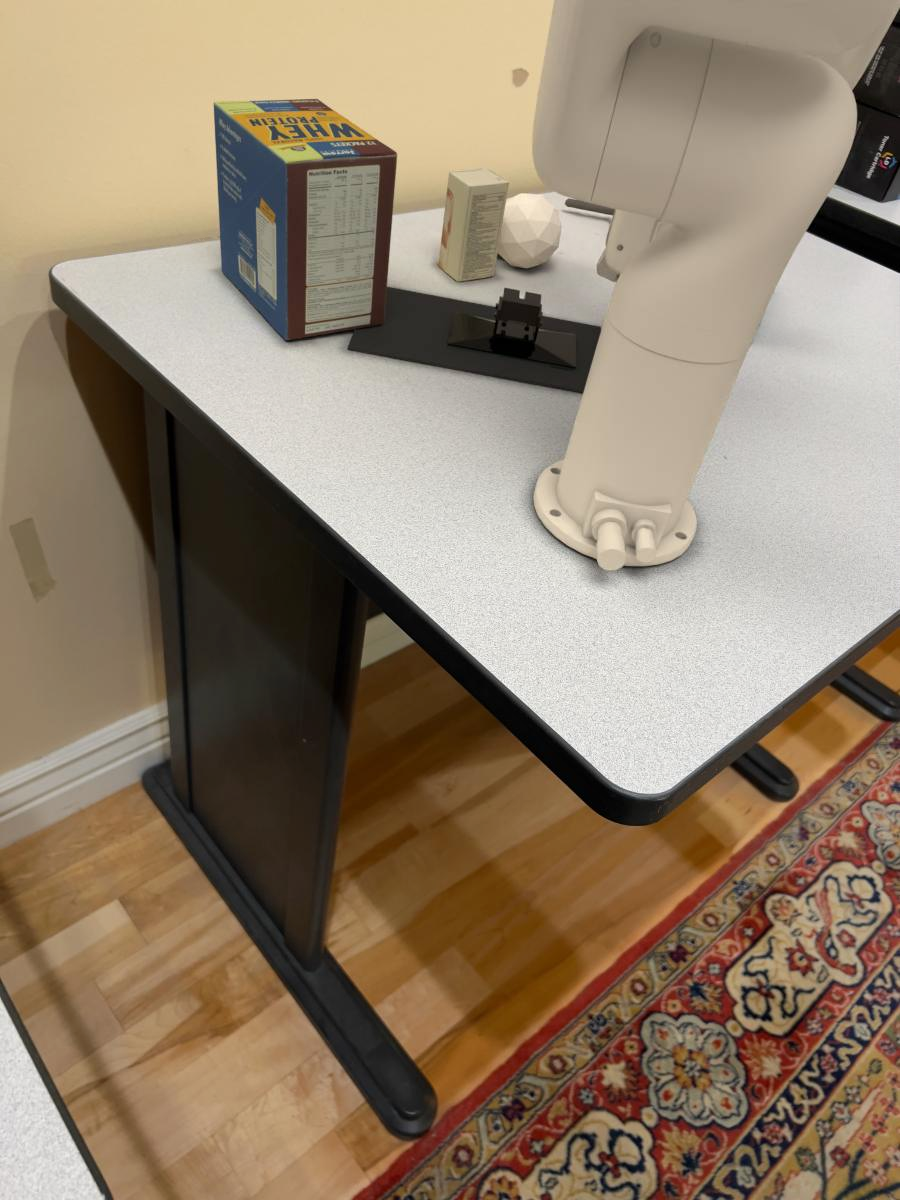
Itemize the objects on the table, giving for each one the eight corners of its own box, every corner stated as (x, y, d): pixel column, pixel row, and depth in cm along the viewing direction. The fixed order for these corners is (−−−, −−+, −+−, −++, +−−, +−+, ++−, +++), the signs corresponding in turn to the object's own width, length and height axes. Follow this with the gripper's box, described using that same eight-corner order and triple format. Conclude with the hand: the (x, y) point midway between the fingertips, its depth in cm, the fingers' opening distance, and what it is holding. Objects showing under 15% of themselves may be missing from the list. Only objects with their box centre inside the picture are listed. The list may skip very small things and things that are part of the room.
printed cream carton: (473, 260, 100) (489, 166, 93) (494, 277, 97) (512, 182, 91) (434, 265, 97) (447, 169, 91) (455, 282, 95) (470, 185, 88)
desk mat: (604, 397, 82) (605, 394, 82) (347, 349, 81) (347, 346, 81) (600, 329, 92) (600, 326, 92) (372, 286, 91) (372, 283, 91)
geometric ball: (532, 288, 104) (586, 245, 99) (491, 275, 97) (546, 228, 93) (508, 232, 105) (560, 187, 100) (467, 216, 99) (520, 168, 94)
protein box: (313, 260, 93) (318, 96, 83) (385, 326, 85) (400, 152, 74) (218, 271, 89) (210, 99, 78) (284, 342, 80) (285, 159, 69)
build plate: (574, 338, 89) (586, 294, 86) (574, 373, 84) (588, 327, 81) (453, 314, 89) (461, 269, 86) (446, 347, 83) (454, 301, 80)
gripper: (610, 135, 70) (556, 347, 83) (794, 171, 70) (713, 376, 83) (607, 109, 76) (557, 311, 88) (778, 143, 76) (704, 339, 88)
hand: (633, 342), depth 85 cm, fingers closed
